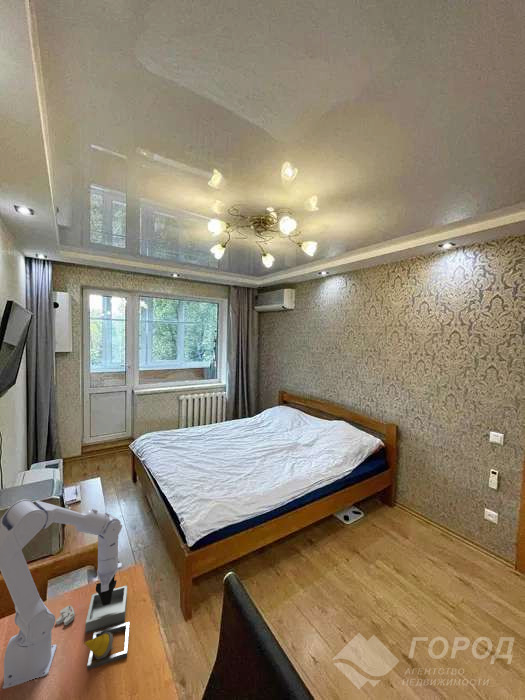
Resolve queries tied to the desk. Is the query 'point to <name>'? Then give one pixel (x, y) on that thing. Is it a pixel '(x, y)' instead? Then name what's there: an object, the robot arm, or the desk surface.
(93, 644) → the drill bit
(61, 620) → the game controller
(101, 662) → the grey square frame
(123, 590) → the bin
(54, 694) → the desk surface
